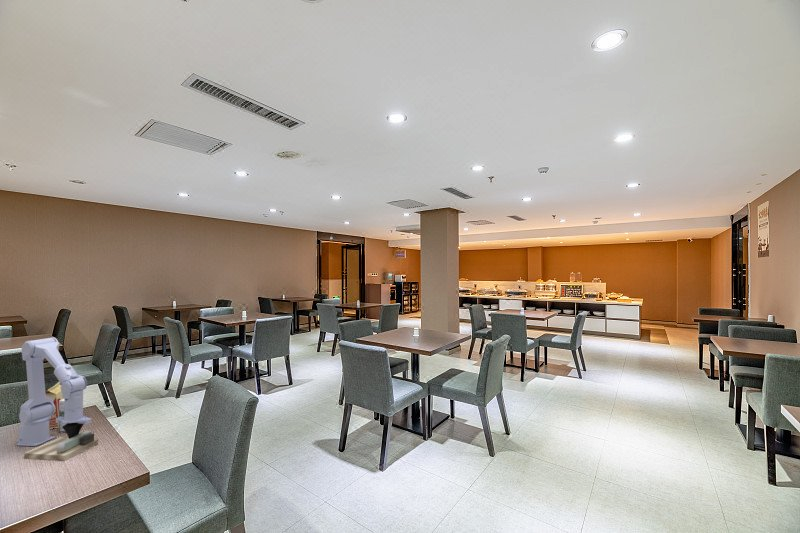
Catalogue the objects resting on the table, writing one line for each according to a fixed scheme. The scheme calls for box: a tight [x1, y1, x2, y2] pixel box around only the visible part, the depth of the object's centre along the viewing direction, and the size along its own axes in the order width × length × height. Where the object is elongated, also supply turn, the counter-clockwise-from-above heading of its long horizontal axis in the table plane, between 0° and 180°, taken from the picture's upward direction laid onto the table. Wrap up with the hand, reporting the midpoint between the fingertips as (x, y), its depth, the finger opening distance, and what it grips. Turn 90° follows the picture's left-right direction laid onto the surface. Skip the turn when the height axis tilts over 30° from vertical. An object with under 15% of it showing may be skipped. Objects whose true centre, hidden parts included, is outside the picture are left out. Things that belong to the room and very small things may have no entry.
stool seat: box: [23, 433, 99, 462], centre depth 145 cm, size 18×14×5 cm
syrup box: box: [58, 399, 66, 433], centre depth 165 cm, size 6×6×14 cm
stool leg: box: [57, 430, 93, 453], centre depth 145 cm, size 13×2×3 cm, turn 175°
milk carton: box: [42, 381, 64, 430], centre depth 169 cm, size 9×9×20 cm
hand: (73, 440), depth 147 cm, fingers closed
